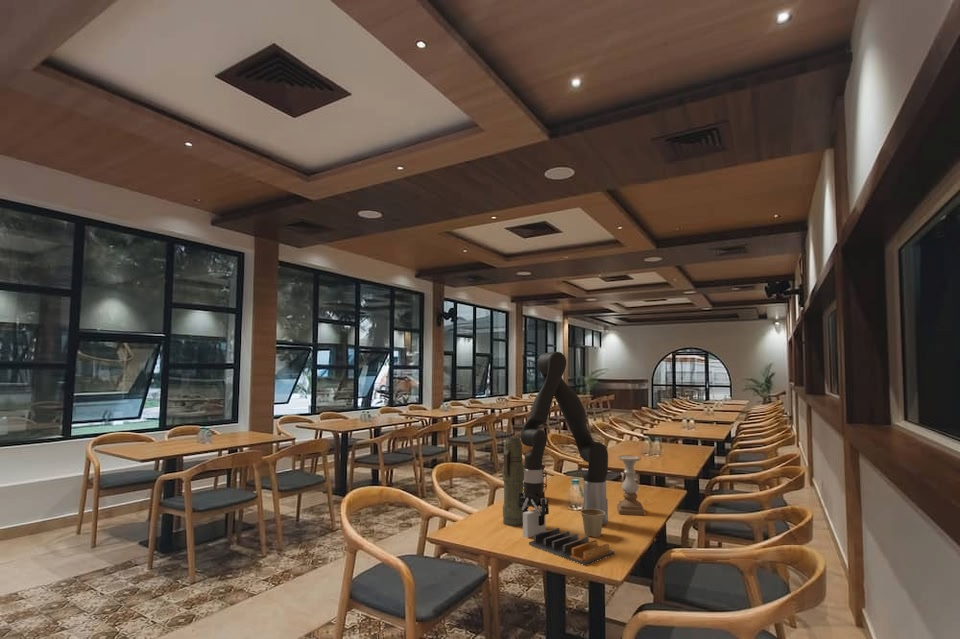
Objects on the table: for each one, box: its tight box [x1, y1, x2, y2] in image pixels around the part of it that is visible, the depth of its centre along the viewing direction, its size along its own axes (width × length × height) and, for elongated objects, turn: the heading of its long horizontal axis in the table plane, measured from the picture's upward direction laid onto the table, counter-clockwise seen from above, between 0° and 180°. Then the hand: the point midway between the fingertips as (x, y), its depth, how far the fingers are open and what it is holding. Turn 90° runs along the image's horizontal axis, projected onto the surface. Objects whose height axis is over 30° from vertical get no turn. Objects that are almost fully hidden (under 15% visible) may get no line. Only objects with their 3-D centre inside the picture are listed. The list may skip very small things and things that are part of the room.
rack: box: [528, 527, 616, 566], centre depth 191 cm, size 16×26×4 cm, turn 40°
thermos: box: [502, 436, 524, 527], centre depth 224 cm, size 9×12×35 cm
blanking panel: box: [522, 509, 547, 539], centre depth 208 cm, size 10×2×9 cm, turn 130°
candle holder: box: [616, 454, 646, 516], centre depth 239 cm, size 11×11×24 cm
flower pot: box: [579, 508, 605, 538], centre depth 208 cm, size 9×9×9 cm
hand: (533, 522), depth 208 cm, fingers open, 8 cm apart
